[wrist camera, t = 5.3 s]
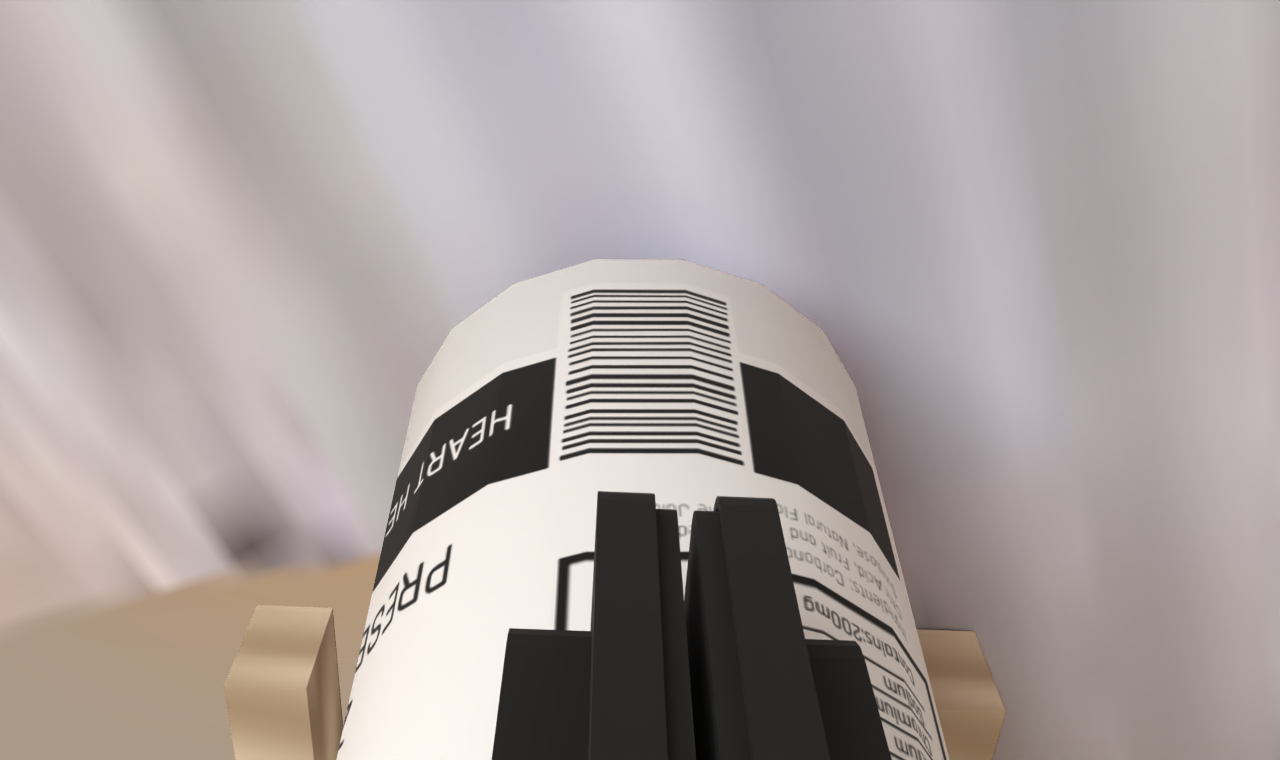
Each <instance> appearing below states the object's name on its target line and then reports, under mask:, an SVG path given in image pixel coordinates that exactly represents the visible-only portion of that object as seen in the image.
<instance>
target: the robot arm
mask: <svg viewBox="0 0 1280 760" xmlns="http://www.w3.org/2000/svg"><path fill="white" fill-rule="evenodd" d="M492 760H892V758H891V755H890V751H889V747H888V744H887V740H886V736H885V732H884V729H883V725H882V721H881V718H880V714H879V710H878V706H877V703H876V699H875V695H874V692H873V688H872V684H871V680H870V677H869V673H868V669H867V666H866V662H865V658H864V656H863V653H862V650H861V648H860V646H859V645H858V643H857V642H856V641H849V640H821V639H805V635H804V631H803V626H802V621H801V616H800V611H799V607H798V602H797V597H796V592H795V588H794V583H793V578H792V573H791V568H790V564H789V559H788V554H787V549H786V544H785V540H784V535H783V530H782V525H781V520H780V516H779V511H778V506H777V503H776V500H775V499H774V498H752V497H728V496H717V498H716V500H715V504H714V511H697V510H695V511H694V512H693V517H692V525H691V536H690V546H689V556H688V566H687V576H686V586H685V596H684V594H683V580H682V567H681V554H680V541H679V528H678V515H677V510H673V509H656V501H655V494H654V493H632V492H608V491H598V494H597V512H596V531H595V551H594V570H593V590H592V609H591V629H590V631H572V630H545V629H517V628H509V632H508V636H507V643H506V650H505V658H504V666H503V674H502V682H501V689H500V697H499V705H498V713H497V721H496V729H495V737H494V745H493V753H492Z"/></svg>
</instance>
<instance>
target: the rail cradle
mask: <svg viewBox="0 0 1280 760" xmlns="http://www.w3.org/2000/svg"><path fill="white" fill-rule="evenodd" d="M917 633H918V637H919V641H920V645H921V649H922V653H923V657H924V661H925V665H926V668H927V672H928V676H929V680H930V684H931V688H932V692H933V696H934V700H935V704H936V708H937V712H938V716H939V720H940V724H941V728H942V732H943V736H944V740H945V744H946V748H947V752H948V756H949V760H992V758H993V754H994V751H995V748H996V744H997V741H998V737H999V734H1000V731H1001V727H1002V724H1003V720H1004V717H1005V713H1006V711H1005V708H1004V706H1003V703H1002V701H1001V698H1000V695H999V693H998V690H997V688H996V685H995V683H994V680H993V678H992V675H991V673H990V670H989V667H988V665H987V662H986V660H985V657H984V655H983V652H982V650H981V647H980V645H979V642H978V639H977V637H976V634H975V632H974V631H949V630H922V629H917ZM224 689H225V696H226V702H227V709H228V715H229V722H230V728H231V735H232V741H233V748H234V754H235V760H336V759H337V754H338V750H339V745H340V741H341V736H342V731H343V720H342V709H341V698H340V687H339V676H338V664H337V654H336V641H335V630H334V618H333V608H325V607H297V606H268V605H257V607H256V609H255V612H254V614H253V617H252V619H251V621H250V624H249V626H248V629H247V631H246V633H245V636H244V638H243V641H242V643H241V645H240V648H239V650H238V653H237V655H236V658H235V660H234V663H233V665H232V667H231V670H230V672H229V674H228V677H227V679H226V682H225V684H224Z"/></svg>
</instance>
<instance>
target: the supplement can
mask: <svg viewBox="0 0 1280 760" xmlns="http://www.w3.org/2000/svg"><path fill="white" fill-rule="evenodd" d="M598 491H608V492H632V493H654V494H655V501H656V509H673V510H677V515H678V528H679V541H680V554H681V567H682V580H683V594H684V596H685V586H686V576H687V566H688V556H689V546H690V536H691V525H692V517H693V512H694V511H695V510H697V511H714V504H715V500H716V498H717V496H728V497H752V498H774V499H775V500H776V503H777V506H778V511H779V516H780V520H781V525H782V530H783V535H784V540H785V544H786V549H787V554H788V559H789V564H790V568H791V573H792V578H793V583H794V588H795V592H796V597H797V602H798V607H799V611H800V616H801V621H802V626H803V631H804V635H805V639H821V640H849V641H856V642H857V643H858V645H859V646H860V648H861V650H862V653H863V656H864V658H865V662H866V666H867V669H868V673H869V677H870V680H871V684H872V688H873V692H874V695H875V699H876V703H877V706H878V710H879V714H880V718H881V721H882V725H883V729H884V732H885V736H886V740H887V744H888V747H889V751H890V755H891V758H892V760H949V756H948V752H947V748H946V744H945V740H944V736H943V732H942V728H941V724H940V720H939V716H938V712H937V708H936V704H935V700H934V696H933V692H932V688H931V684H930V680H929V676H928V672H927V668H926V665H925V661H924V657H923V653H922V649H921V645H920V641H919V637H918V633H917V629H916V625H915V621H914V617H913V613H912V609H911V605H910V601H909V597H908V593H907V589H906V585H905V581H904V577H903V573H902V570H901V566H900V562H899V558H898V554H897V550H896V546H895V542H894V538H893V534H892V530H891V526H890V522H889V518H888V514H887V510H886V506H885V502H884V498H883V494H882V490H881V486H880V482H879V479H878V475H877V471H876V467H875V463H874V459H873V455H872V451H871V447H870V443H869V439H868V435H867V431H866V427H865V423H864V419H863V415H862V411H861V407H860V403H859V399H858V395H857V391H856V387H855V385H854V383H853V382H852V380H851V378H850V376H849V375H848V373H847V371H846V369H845V368H844V366H843V364H842V362H841V361H840V359H839V357H838V355H837V354H836V352H835V350H834V348H833V347H832V345H831V343H830V341H829V340H828V338H827V336H826V334H825V333H824V331H823V330H822V329H821V328H820V327H818V326H817V325H816V324H814V323H813V322H812V321H810V320H809V319H808V318H806V317H805V316H804V315H802V314H801V313H800V312H798V311H797V310H796V309H795V308H793V307H792V306H791V305H789V304H788V303H787V302H785V301H784V300H783V299H781V298H780V297H779V296H777V295H776V294H775V293H773V292H772V291H771V290H769V289H768V288H767V287H765V286H764V285H762V284H759V283H756V282H753V281H750V280H746V279H743V278H740V277H737V276H734V275H731V274H727V273H724V272H721V271H718V270H715V269H712V268H708V267H705V266H702V265H699V264H696V263H693V262H690V261H686V260H683V259H594V260H590V261H587V262H584V263H581V264H577V265H574V266H571V267H568V268H564V269H561V270H558V271H554V272H551V273H548V274H545V275H541V276H538V277H535V278H531V279H528V280H525V281H522V282H518V283H515V284H513V285H512V286H510V287H509V288H507V289H506V290H505V291H503V292H502V293H501V294H499V295H498V296H496V297H495V298H494V299H492V300H491V301H490V302H488V303H487V304H485V305H484V306H483V307H481V308H480V309H479V310H477V311H476V312H474V313H473V314H472V315H470V316H469V317H468V318H466V319H465V320H463V321H462V322H461V323H459V324H458V325H457V326H455V327H454V328H452V330H451V331H450V333H449V334H448V336H447V338H446V339H445V341H444V343H443V344H442V346H441V348H440V349H439V351H438V353H437V354H436V356H435V357H434V359H433V361H432V362H431V364H430V366H429V367H428V369H427V371H426V372H425V374H424V376H423V377H422V379H421V380H420V382H419V384H418V385H417V390H416V394H415V399H414V403H413V408H412V413H411V417H410V422H409V426H408V431H407V436H406V440H405V445H404V450H403V454H402V459H401V463H400V468H399V473H398V477H397V482H396V487H395V491H394V496H393V500H392V505H391V510H390V514H389V519H388V523H387V528H386V533H385V537H384V542H383V547H382V551H381V556H380V560H379V565H378V570H377V574H376V579H375V584H374V589H373V593H372V597H371V602H370V607H369V611H368V616H367V620H366V625H365V630H364V635H363V639H362V644H361V648H360V653H359V658H358V662H357V667H356V672H355V676H354V680H353V685H352V690H351V694H350V699H349V704H348V708H347V713H346V717H345V722H344V727H343V731H342V736H341V741H340V745H339V750H338V754H337V759H336V760H492V753H493V745H494V737H495V729H496V721H497V713H498V705H499V697H500V689H501V682H502V674H503V666H504V658H505V650H506V643H507V636H508V632H509V628H517V629H545V630H572V631H590V629H591V609H592V590H593V570H594V551H595V531H596V512H597V494H598Z"/></svg>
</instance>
